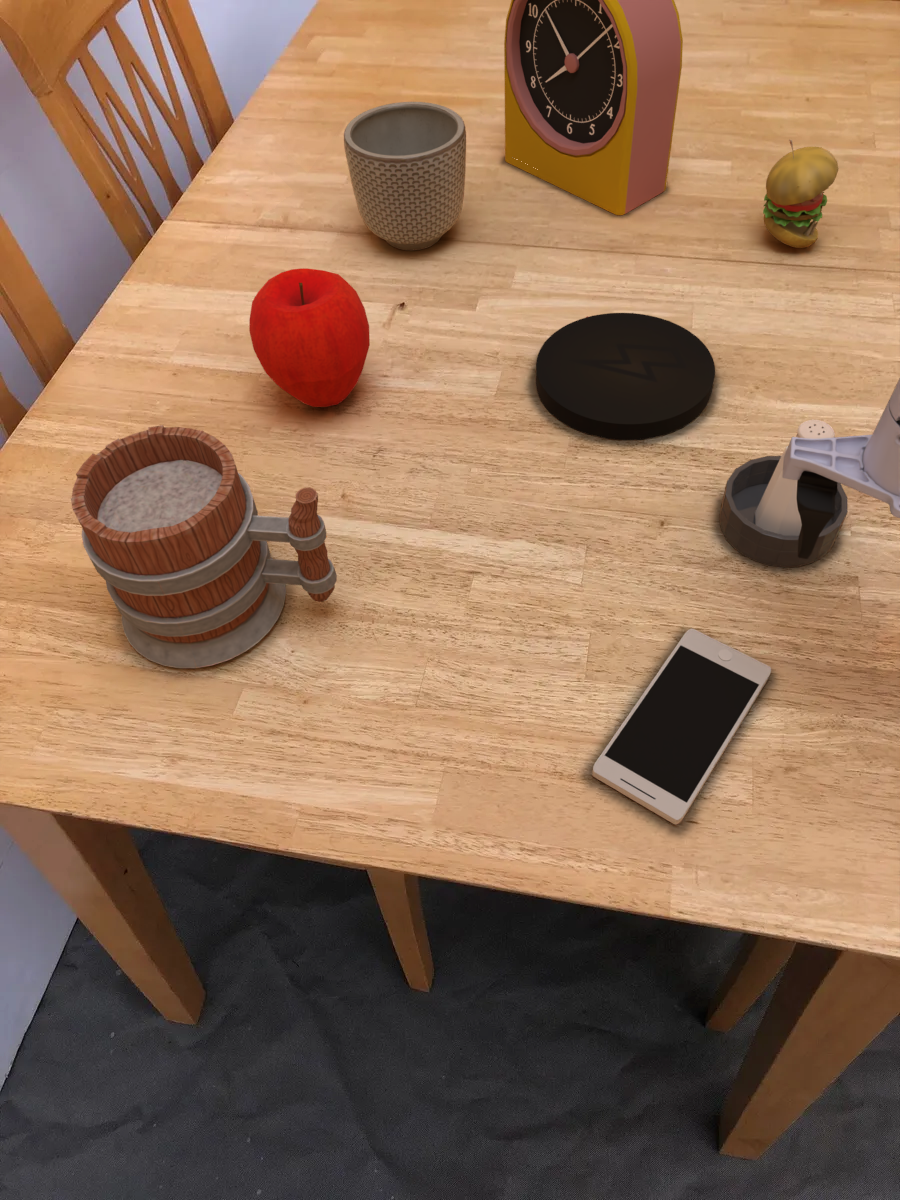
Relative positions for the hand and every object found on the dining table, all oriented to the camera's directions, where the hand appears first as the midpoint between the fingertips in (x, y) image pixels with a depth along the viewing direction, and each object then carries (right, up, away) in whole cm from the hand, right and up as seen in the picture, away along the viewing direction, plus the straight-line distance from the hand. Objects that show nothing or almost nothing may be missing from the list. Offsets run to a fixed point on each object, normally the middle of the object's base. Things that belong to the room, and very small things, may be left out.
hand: (858, 558), depth 65 cm
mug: (-47, -4, +14) cm, 49 cm away
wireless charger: (-11, +19, +30) cm, 37 cm away
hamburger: (+11, +39, +44) cm, 60 cm away
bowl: (0, +4, +16) cm, 17 cm away
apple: (-42, +18, +31) cm, 55 cm away
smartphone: (-11, -12, +4) cm, 17 cm away
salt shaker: (0, +3, +16) cm, 16 cm away
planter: (-33, +42, +49) cm, 72 cm away
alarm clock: (-12, +53, +56) cm, 78 cm away
